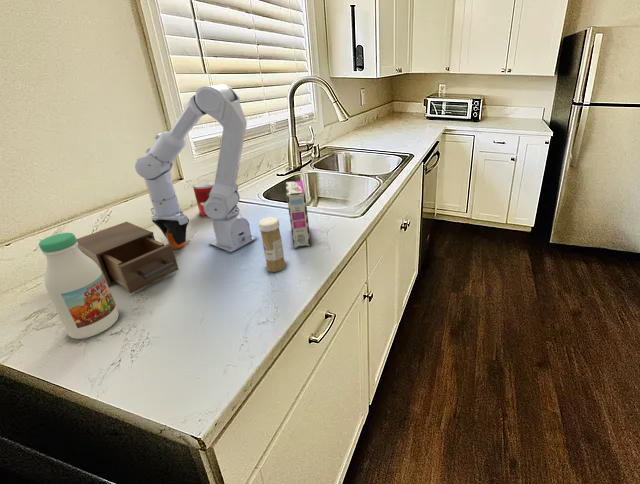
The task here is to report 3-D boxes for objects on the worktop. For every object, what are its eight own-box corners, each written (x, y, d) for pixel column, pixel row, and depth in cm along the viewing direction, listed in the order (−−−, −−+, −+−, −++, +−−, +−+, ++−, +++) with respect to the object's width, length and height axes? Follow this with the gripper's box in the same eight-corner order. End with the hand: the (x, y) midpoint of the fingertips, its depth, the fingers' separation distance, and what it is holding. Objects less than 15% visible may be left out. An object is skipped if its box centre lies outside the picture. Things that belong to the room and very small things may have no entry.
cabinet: (162, 261, 86) (152, 232, 83) (108, 286, 77) (96, 254, 73) (136, 248, 92) (126, 221, 89) (84, 270, 83) (71, 240, 79)
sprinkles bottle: (263, 269, 82) (254, 221, 77) (277, 260, 86) (269, 214, 81) (275, 274, 80) (266, 226, 75) (289, 265, 84) (282, 218, 79)
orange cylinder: (189, 243, 94) (184, 226, 92) (174, 250, 91) (169, 233, 89) (181, 240, 96) (176, 223, 94) (166, 246, 93) (161, 229, 91)
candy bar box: (312, 245, 93) (305, 192, 87) (293, 249, 91) (285, 195, 85) (308, 228, 102) (302, 179, 96) (292, 231, 101) (284, 181, 95)
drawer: (188, 274, 79) (181, 249, 77) (140, 300, 71) (130, 272, 68) (152, 256, 87) (144, 233, 84) (104, 278, 78) (94, 253, 76)
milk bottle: (62, 346, 60) (14, 254, 53) (77, 319, 67) (36, 233, 60) (114, 331, 64) (76, 242, 56) (124, 306, 70) (91, 224, 63)
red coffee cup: (214, 218, 110) (207, 187, 106) (194, 216, 111) (186, 186, 107) (230, 208, 117) (223, 179, 113) (211, 206, 118) (204, 178, 114)
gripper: (133, 197, 88) (147, 241, 93) (162, 207, 82) (176, 254, 87) (161, 189, 94) (173, 230, 99) (190, 198, 87) (202, 242, 92)
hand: (176, 240), depth 93 cm, fingers closed on orange cylinder, 4 cm apart
